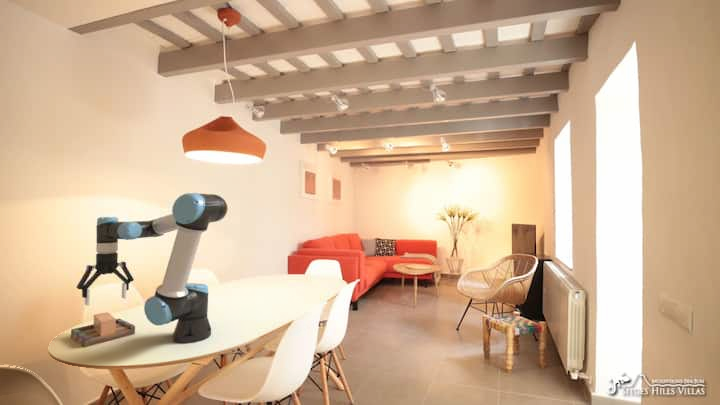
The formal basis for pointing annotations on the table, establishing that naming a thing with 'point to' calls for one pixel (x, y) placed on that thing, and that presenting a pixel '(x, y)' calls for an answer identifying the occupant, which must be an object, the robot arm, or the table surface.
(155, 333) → the table surface
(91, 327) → the wooden tray
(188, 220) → the robot arm
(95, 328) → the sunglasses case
